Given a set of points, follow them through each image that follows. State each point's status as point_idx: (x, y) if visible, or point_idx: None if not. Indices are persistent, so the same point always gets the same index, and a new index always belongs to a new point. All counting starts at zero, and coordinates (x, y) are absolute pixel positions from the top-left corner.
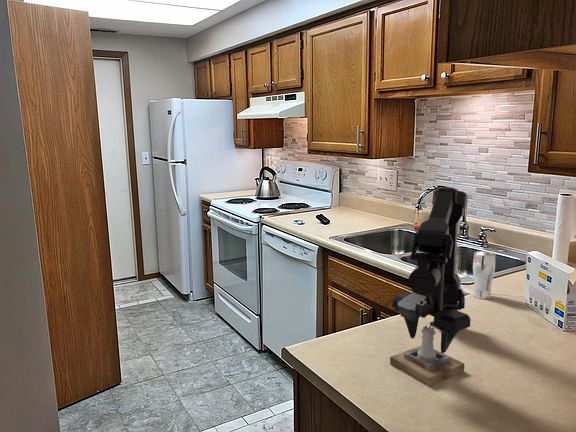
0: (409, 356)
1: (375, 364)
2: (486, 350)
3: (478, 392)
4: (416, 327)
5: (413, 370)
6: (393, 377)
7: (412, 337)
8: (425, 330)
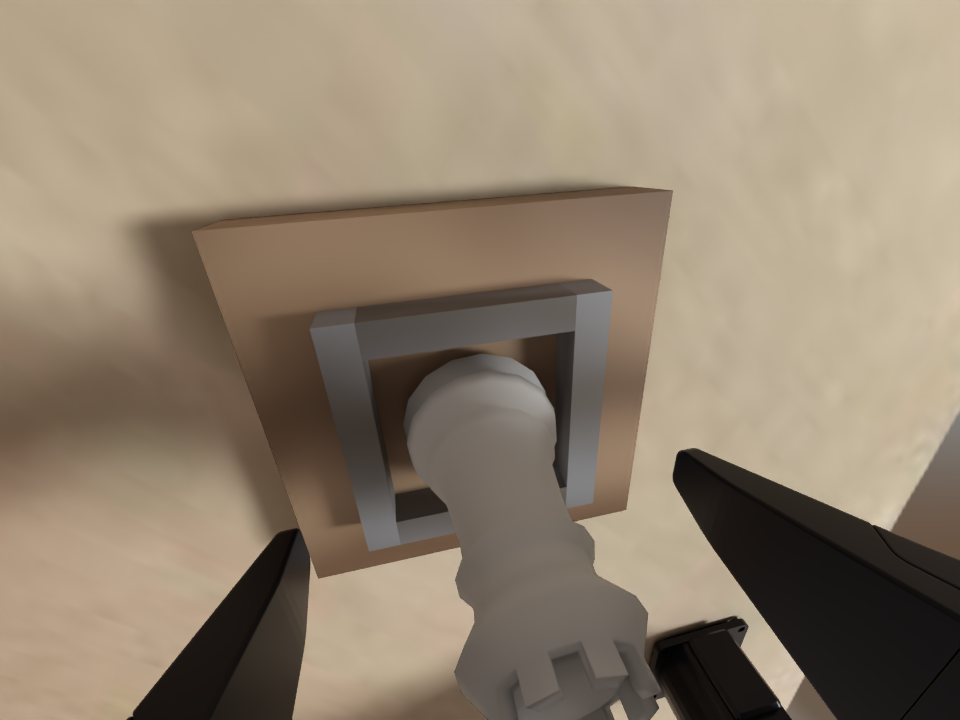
0: (545, 299)
1: (704, 74)
2: (451, 689)
3: (43, 472)
4: (746, 583)
5: (399, 213)
6: (473, 43)
7: (684, 462)
8: (579, 653)
